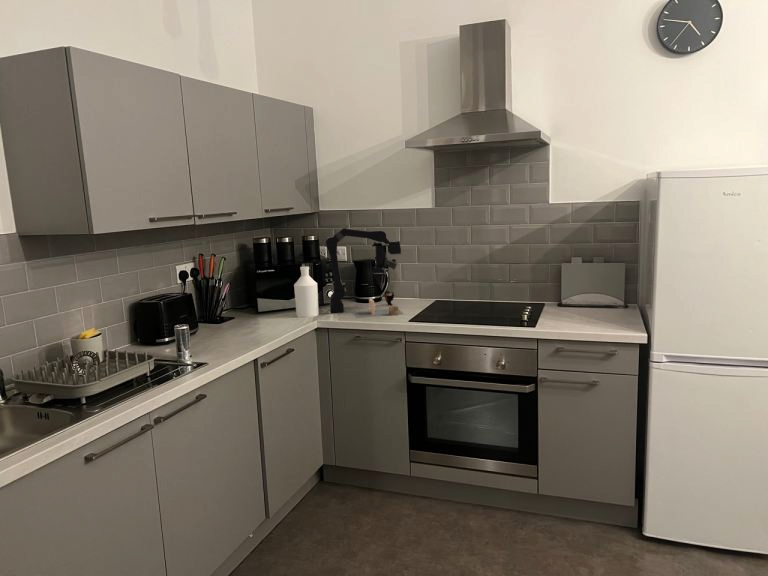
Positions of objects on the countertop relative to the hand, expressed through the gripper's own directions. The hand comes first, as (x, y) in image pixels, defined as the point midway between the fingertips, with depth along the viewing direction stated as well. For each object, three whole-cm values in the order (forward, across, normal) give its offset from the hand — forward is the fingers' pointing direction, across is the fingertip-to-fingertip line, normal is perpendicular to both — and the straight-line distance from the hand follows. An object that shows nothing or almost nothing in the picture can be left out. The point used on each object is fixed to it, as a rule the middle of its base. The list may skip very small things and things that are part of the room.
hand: (381, 284), depth 315 cm
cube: (+13, -14, -8) cm, 20 cm away
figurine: (+14, +10, -3) cm, 17 cm away
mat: (+14, -9, +1) cm, 16 cm away
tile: (+13, -10, +4) cm, 17 cm away
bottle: (+15, -10, +37) cm, 41 cm away
